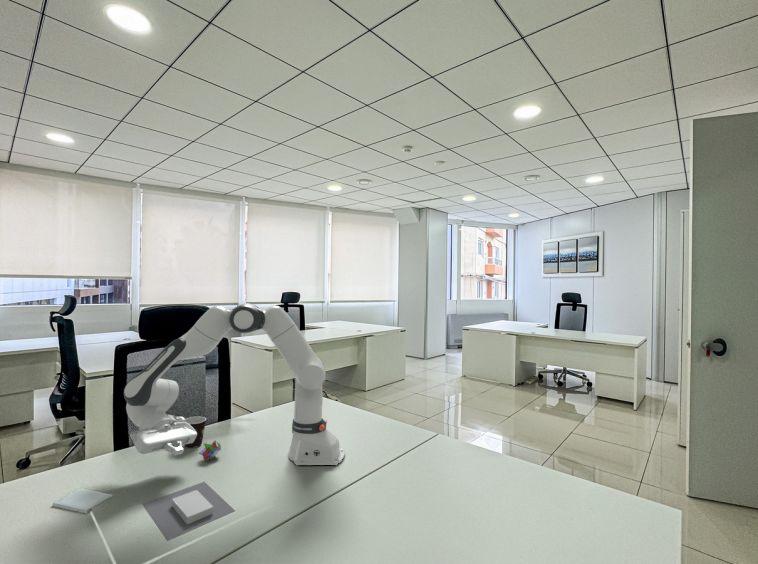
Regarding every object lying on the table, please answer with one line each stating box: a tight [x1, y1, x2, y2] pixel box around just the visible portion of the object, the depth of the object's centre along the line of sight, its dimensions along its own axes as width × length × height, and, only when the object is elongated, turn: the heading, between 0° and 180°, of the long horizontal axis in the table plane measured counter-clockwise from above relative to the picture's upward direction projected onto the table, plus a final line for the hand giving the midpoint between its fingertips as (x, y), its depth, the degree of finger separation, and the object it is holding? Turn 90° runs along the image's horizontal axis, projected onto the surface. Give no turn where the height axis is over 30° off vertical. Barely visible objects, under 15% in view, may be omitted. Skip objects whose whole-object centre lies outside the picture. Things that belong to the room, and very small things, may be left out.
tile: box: [172, 490, 213, 525], centre depth 105 cm, size 2×7×12 cm
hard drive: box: [52, 487, 114, 514], centre depth 108 cm, size 2×8×12 cm
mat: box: [141, 481, 236, 541], centre depth 106 cm, size 22×18×1 cm
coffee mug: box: [184, 416, 207, 449], centre depth 150 cm, size 12×9×10 cm
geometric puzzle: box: [198, 440, 222, 462], centre depth 136 cm, size 7×7×8 cm
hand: (179, 452), depth 119 cm, fingers closed
